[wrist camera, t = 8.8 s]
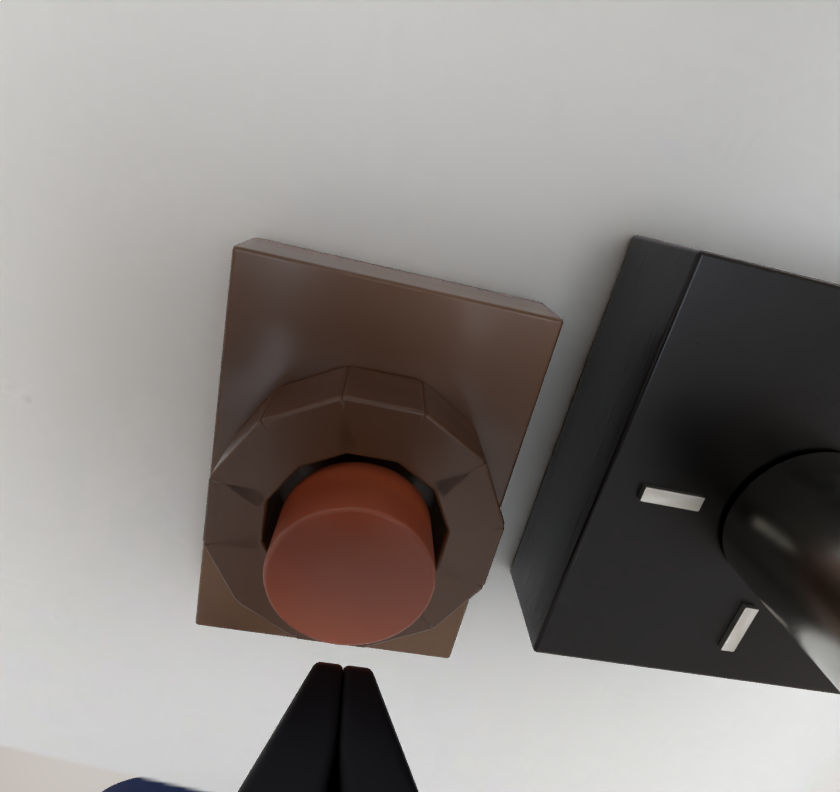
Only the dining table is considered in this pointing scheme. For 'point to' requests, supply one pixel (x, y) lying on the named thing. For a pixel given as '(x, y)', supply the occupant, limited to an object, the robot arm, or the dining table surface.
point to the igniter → (365, 417)
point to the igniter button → (351, 555)
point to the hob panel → (679, 466)
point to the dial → (793, 550)
